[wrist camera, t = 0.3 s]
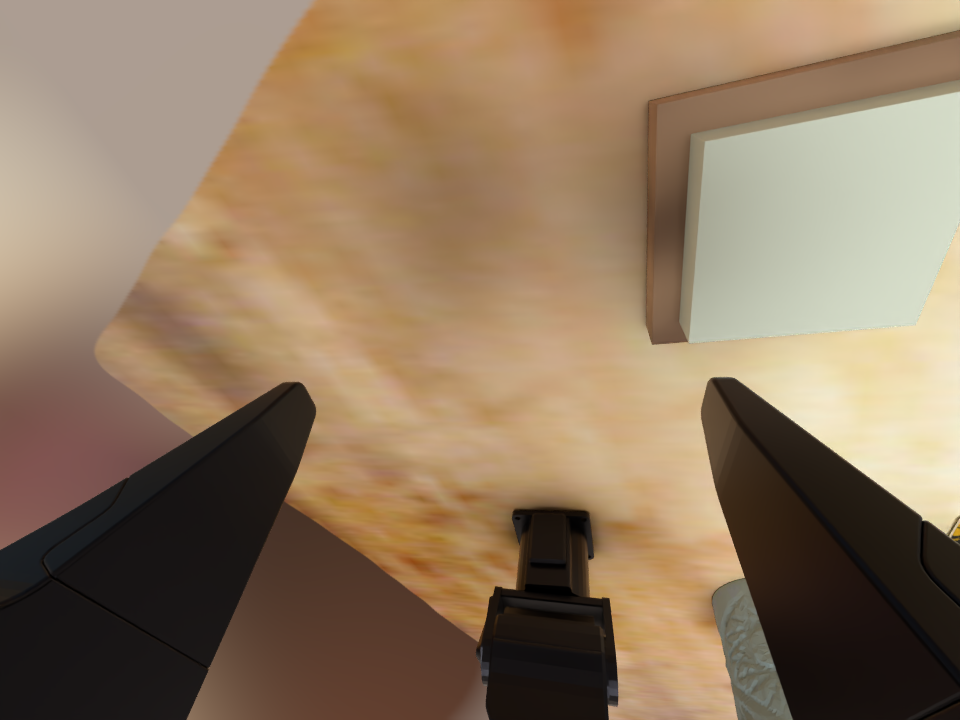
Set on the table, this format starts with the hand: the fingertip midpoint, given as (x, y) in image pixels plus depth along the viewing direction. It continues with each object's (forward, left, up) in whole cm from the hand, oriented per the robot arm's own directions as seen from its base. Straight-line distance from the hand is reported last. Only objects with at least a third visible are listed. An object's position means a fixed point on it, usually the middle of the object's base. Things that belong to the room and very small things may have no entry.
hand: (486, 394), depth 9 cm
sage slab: (-2, -11, -12) cm, 17 cm away
